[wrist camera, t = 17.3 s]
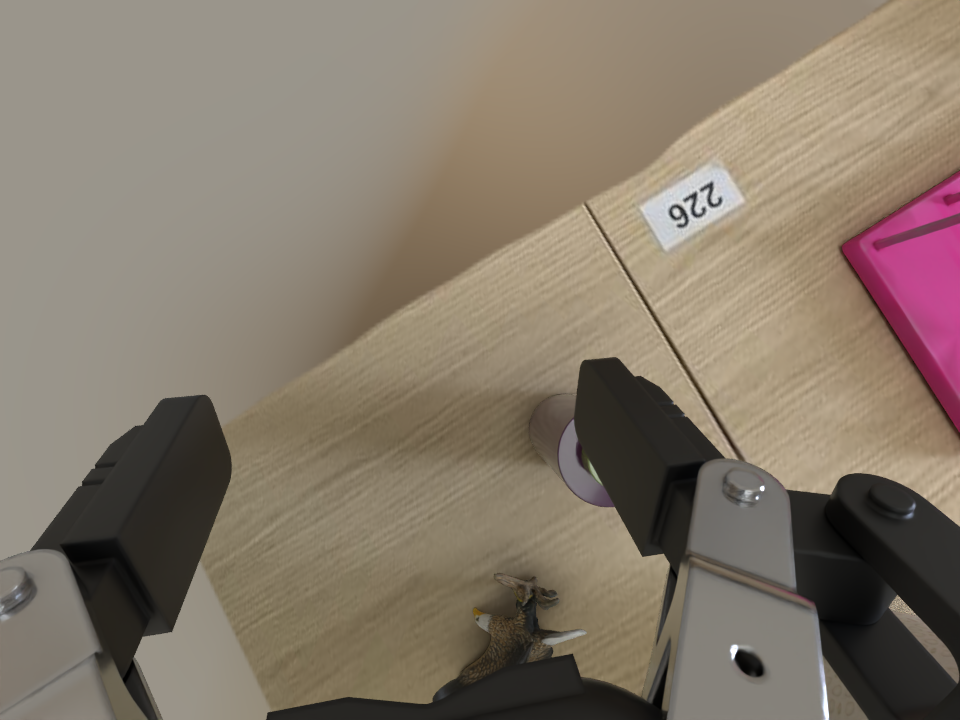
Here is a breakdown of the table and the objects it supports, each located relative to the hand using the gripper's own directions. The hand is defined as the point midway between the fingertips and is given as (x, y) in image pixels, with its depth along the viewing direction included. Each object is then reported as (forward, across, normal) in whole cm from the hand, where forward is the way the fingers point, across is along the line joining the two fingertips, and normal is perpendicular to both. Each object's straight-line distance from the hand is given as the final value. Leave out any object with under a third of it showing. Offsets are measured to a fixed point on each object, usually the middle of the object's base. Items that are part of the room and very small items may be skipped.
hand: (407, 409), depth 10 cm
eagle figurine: (+9, -5, +25) cm, 27 cm away
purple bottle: (+15, -10, +14) cm, 23 cm away
